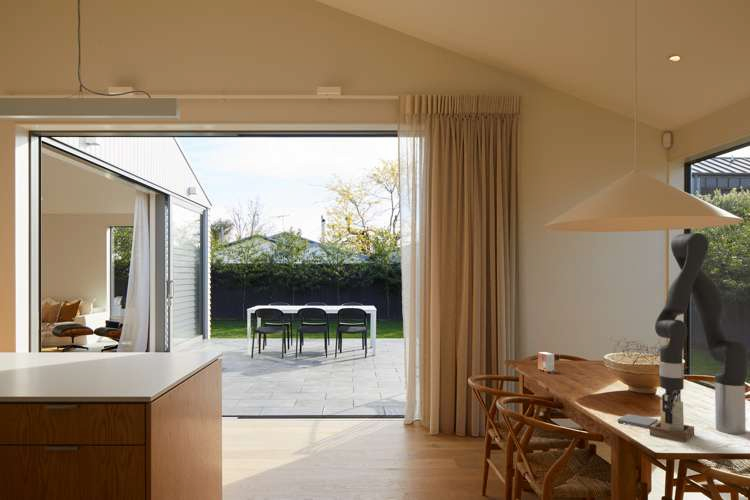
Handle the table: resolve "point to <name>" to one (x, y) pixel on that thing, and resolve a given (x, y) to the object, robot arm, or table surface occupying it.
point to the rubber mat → (637, 420)
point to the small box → (545, 361)
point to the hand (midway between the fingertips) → (671, 421)
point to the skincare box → (674, 417)
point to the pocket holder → (672, 432)
